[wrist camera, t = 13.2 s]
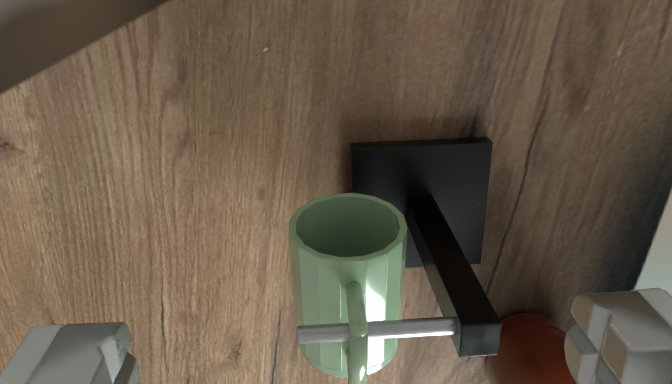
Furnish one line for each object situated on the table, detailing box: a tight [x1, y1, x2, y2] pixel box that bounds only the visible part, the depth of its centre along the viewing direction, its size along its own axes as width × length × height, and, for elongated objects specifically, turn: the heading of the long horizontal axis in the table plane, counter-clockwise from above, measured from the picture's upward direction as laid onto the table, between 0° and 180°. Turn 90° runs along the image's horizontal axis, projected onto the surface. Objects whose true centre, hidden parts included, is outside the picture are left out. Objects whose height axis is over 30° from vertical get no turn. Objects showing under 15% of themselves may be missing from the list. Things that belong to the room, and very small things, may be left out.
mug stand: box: [297, 137, 502, 357], centre depth 34 cm, size 10×14×16 cm
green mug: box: [289, 193, 407, 384], centre depth 31 cm, size 10×7×9 cm
